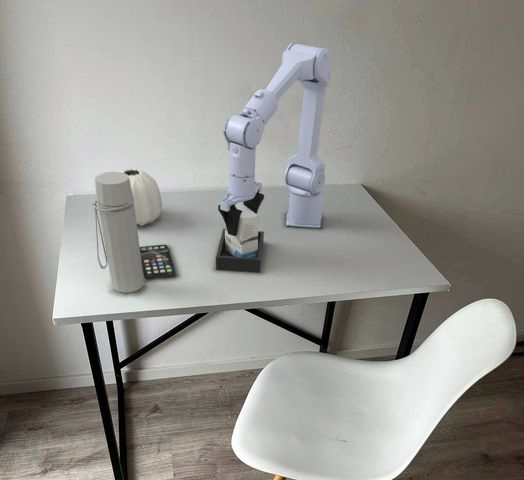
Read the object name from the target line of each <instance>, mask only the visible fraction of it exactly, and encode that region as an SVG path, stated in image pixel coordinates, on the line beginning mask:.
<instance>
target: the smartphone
mask: <svg viewBox="0 0 524 480" xmlns="http://www.w3.org/2000/svg"><path fill="white" fill-rule="evenodd" d="M140 254H141V262H142V270H143V278H144V279H145V280H154V279H163V278H164V279H165V278H171V277H175V276H176V274H177V272H176V269H175V266H174V262H173V259H172V256H171V252H170V250H169V245H167V244H156V245H145V246H140Z"/></svg>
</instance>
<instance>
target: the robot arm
mask: <svg viewBox="0 0 524 480" xmlns="http://www.w3.org/2000/svg"><path fill="white" fill-rule="evenodd" d="M333 62H334V57H333V55H332V54H331V51H330V50H329V49H328V48H326V47H323V48H321V47H316V46H311V45H306V44H301V43H297V42H291V43H289V45H287V47H286V49H285V50H284V51H283V53H282V58H281V65H280V67H278V70H277V71H276V73H275V75H274V76H273V77H272V78H271V81H270V82H269V83H268V85H267V86H266V88H265V89H257V91H256V90H255V92H254V93H253V96H252V97H251V98H250V99H249V100H248V102H247V103H246V104H245V106H243V108H241V109H242V110H241V111H240V112H239V113H238V114H234V115H232V116H230V117H229V118H227V120H226V122H225V125H224V130H223V131H222V132H223V133H222V134H223V137H224V140H225V141H226V148H227V150H228V152H229V186H228V187H227V188H225V193H226V194H225V196H224V198H223V199H222V200H221V201H220V203H219V204H218V205H217V210H218V212H219V213H220V216H221V217H222V219H223V221H224V226H225V225H226V228H227V232H228V234H229V235H232V236H236V235H237V231H238V223H239V219H240V216H241V213H242V212H243V211H242V210H238V209H237V207H235V205H236V204H238V203H242V204H243V205H245V206H246V207H247V208H249V209H250V210H251V211H253V212H254V213H255V214H257V215H258V211H259V209H260V206H261V204H262V203H263V201H264V199H265V194H263V193H260V192H261V191H263V183H262V182H259V181H255V180H256V155H257V154H256V151H257V150H256V148H257V146H258V145H259V144H260V142H261V140H262V137H263V134H264V131H265V128H266V127H265V126H266V125H267V124H268V122H269V121H270V120H271V119H272V117H273V116H274V115H275V113H276V112H277V111H278V107H279V106H278V101H279V100H280V99H281V97H283V96H284V94H285V93H286V92H288V90H289V89H290V88H291V87H292V86H293V85H294V84H295V83H296V82H297V81H299V83H300V84H301V86H302V87H303V96H302V105H301V115H300V123H299V131H298V140H297V148H296V153H295V154H294V155H292V156H291V157H290V158H289V159H288V162H287V166H286V168H285V172H284V183H285V184H286V185H287V190H289V199H288V201H289V202H288V212H286V221H285V222H286V223H285V226H287V227H296V228H297V227H299V228H314V229H321V223H322V219H323V207H324V199H325V198H324V196H325V194H324V193H325V192H324V191H322V190H323V188H324V187H325V182H326V174H325V169H326V164H325V163H324V162H323V160H322V158H321V157H319V155H318V150H319V149H318V148H319V141H320V134H321V126H322V121H323V113H324V107H325V97H326V91H327V90H326V89H327V87H329V86H330V83H331V76H332V71H333V70H332V69H333Z"/></svg>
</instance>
